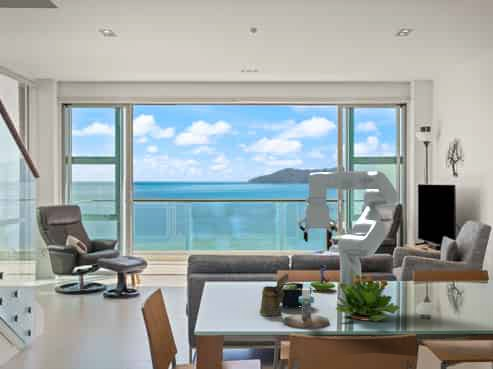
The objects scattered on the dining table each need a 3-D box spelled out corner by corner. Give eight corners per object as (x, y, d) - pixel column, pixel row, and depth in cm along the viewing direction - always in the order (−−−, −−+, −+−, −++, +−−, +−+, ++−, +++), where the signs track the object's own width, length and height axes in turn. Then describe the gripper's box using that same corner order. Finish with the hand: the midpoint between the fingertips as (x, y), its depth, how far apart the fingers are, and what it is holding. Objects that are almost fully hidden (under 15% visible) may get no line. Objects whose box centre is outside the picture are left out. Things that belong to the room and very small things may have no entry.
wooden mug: (280, 319, 246) (280, 275, 246) (255, 314, 255) (255, 271, 254) (293, 315, 253) (293, 272, 252) (268, 310, 261) (268, 269, 261)
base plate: (324, 317, 249) (324, 297, 249) (333, 328, 231) (333, 307, 231) (280, 317, 248) (280, 298, 248) (287, 328, 230) (287, 308, 230)
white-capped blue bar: (299, 298, 246) (299, 283, 246) (313, 298, 245) (313, 283, 245) (298, 305, 232) (298, 289, 232) (313, 306, 231) (314, 289, 231)
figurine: (336, 293, 301) (336, 263, 300) (311, 292, 301) (311, 262, 301) (333, 287, 314) (333, 259, 314) (309, 287, 315) (309, 259, 315)
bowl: (314, 303, 276) (314, 281, 276) (307, 311, 260) (307, 288, 260) (278, 301, 281) (278, 279, 281) (269, 308, 264) (269, 286, 264)
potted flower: (346, 326, 233) (346, 281, 233) (321, 313, 256) (321, 272, 256) (403, 322, 240) (403, 278, 240) (374, 309, 263) (374, 269, 263)
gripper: (298, 202, 254) (298, 242, 254) (339, 201, 255) (339, 242, 255) (296, 201, 261) (296, 240, 262) (335, 201, 263) (335, 240, 263)
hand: (317, 241), depth 259 cm, fingers open, 9 cm apart
